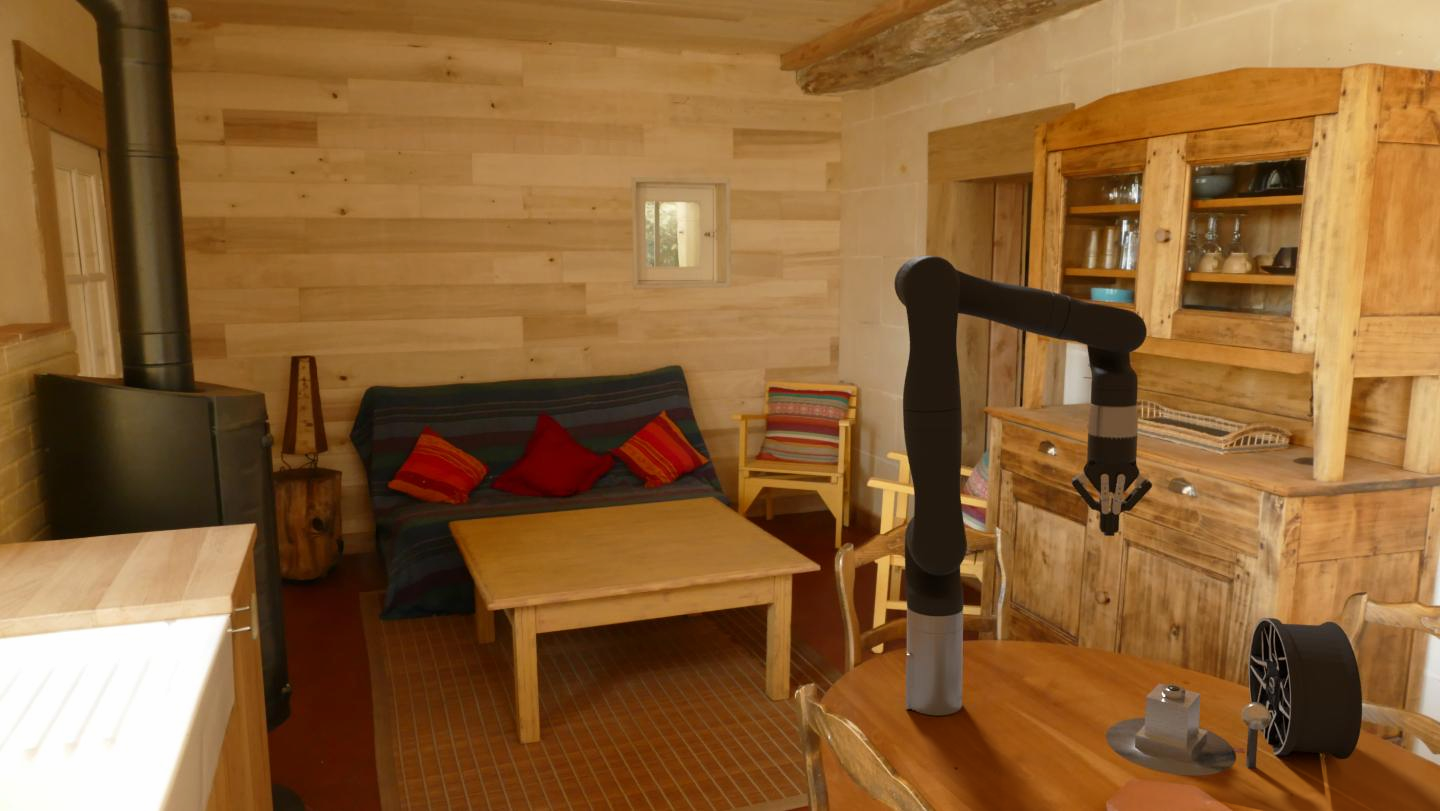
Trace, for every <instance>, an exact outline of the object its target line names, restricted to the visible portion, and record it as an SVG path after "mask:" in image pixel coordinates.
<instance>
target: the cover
mask: <svg viewBox="0 0 1440 811" xmlns="http://www.w3.org/2000/svg"><path fill="white" fill-rule="evenodd" d="M1200 707H1201V693H1200V692H1199V693H1198V692H1195V691H1191V690H1187V689H1185V688H1184V687H1182V686H1180V685H1177V684H1169V683H1168V684H1163V683H1158V684H1157V685H1156V686H1155V687H1154V688H1153V689H1152V690H1151V691H1150V692H1149V693H1148V694H1147V695H1146V697H1145V713H1144V718H1145V725H1144V726H1143V727H1142V728H1141V729H1140V731H1139V732H1138V733H1137V734H1136V735H1135V748H1139V749H1142V750H1146V751H1149V752H1153V753H1156V754H1160V755H1163V756H1166V757H1170V758H1173V759H1177V760H1180V761H1184V762H1187V763H1192V762H1193V760H1194V759H1195V758H1196V756H1197V755H1198V754H1199V752H1200V751H1201V750H1202V748H1203V747H1204V746H1205V745H1206V743H1207V730H1208V729H1206V730H1204V729H1205V728H1204V729H1200V728H1199V727H1200V712H1201V711H1200Z"/></svg>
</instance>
